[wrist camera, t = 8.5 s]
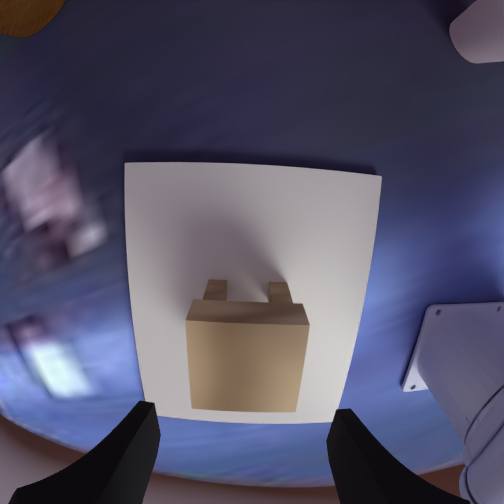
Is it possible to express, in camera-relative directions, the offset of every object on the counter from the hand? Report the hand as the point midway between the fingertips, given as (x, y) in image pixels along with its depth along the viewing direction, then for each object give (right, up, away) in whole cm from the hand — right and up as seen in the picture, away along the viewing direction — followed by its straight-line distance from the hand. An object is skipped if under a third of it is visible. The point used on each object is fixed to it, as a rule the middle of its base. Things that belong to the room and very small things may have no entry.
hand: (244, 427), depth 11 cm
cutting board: (0, +3, +9) cm, 10 cm away
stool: (0, +3, +9) cm, 9 cm away
